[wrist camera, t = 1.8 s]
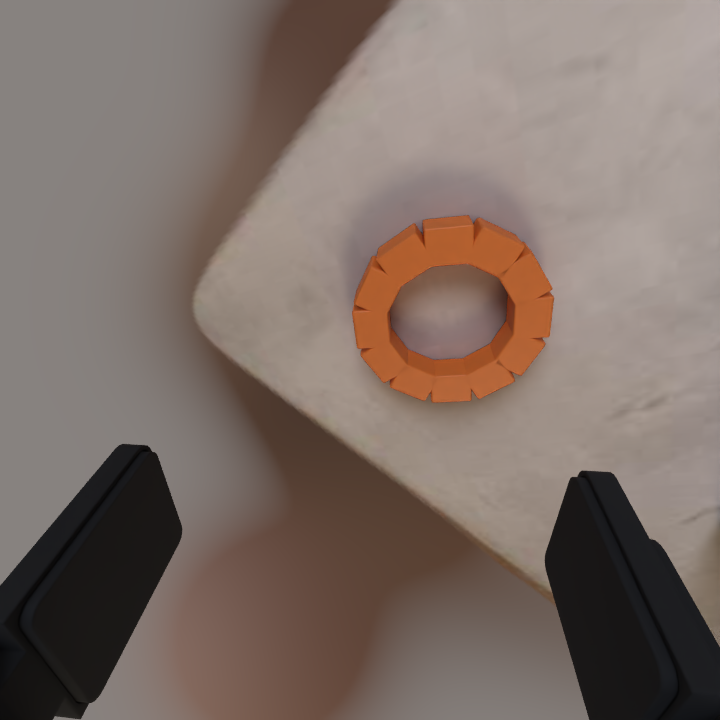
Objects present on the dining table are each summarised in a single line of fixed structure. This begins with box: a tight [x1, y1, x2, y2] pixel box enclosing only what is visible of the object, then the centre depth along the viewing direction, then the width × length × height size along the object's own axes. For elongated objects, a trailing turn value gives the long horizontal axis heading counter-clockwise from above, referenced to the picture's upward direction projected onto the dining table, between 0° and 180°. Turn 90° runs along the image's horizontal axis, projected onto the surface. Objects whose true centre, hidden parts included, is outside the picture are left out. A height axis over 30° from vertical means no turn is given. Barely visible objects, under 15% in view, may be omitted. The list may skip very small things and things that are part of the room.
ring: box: [352, 215, 554, 403], centre depth 18 cm, size 8×8×1 cm
